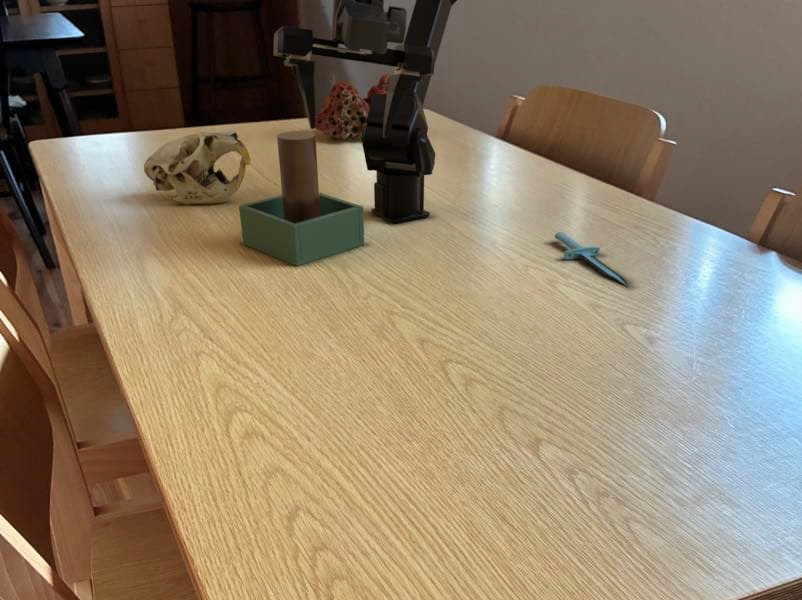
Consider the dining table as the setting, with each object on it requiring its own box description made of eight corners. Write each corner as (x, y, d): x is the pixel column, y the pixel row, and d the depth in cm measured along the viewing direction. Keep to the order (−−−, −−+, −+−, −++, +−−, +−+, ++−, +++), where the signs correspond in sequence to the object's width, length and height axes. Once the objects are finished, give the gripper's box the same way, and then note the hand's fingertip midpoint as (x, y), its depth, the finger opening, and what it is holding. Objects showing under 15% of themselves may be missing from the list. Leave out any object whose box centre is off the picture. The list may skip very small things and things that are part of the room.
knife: (647, 279, 98) (612, 285, 96) (645, 288, 98) (610, 294, 97) (574, 229, 109) (542, 233, 108) (573, 237, 110) (541, 242, 109)
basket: (309, 225, 115) (307, 188, 112) (364, 244, 109) (363, 206, 106) (243, 244, 109) (238, 205, 106) (296, 266, 102) (293, 226, 99)
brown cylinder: (327, 237, 110) (321, 132, 102) (313, 248, 106) (306, 140, 98) (295, 233, 111) (286, 129, 103) (280, 244, 107) (270, 137, 99)
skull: (248, 200, 118) (222, 126, 112) (156, 225, 123) (127, 155, 117) (271, 185, 125) (247, 115, 120) (183, 209, 130) (157, 143, 125)
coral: (423, 88, 159) (414, 75, 145) (406, 160, 164) (396, 153, 150) (334, 63, 159) (317, 47, 146) (320, 136, 164) (302, 127, 151)
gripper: (286, -43, 84) (280, 125, 91) (456, -14, 89) (438, 143, 95) (275, -27, 93) (271, 124, 100) (429, -2, 98) (415, 140, 105)
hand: (349, 133), depth 100 cm, fingers open, 9 cm apart
